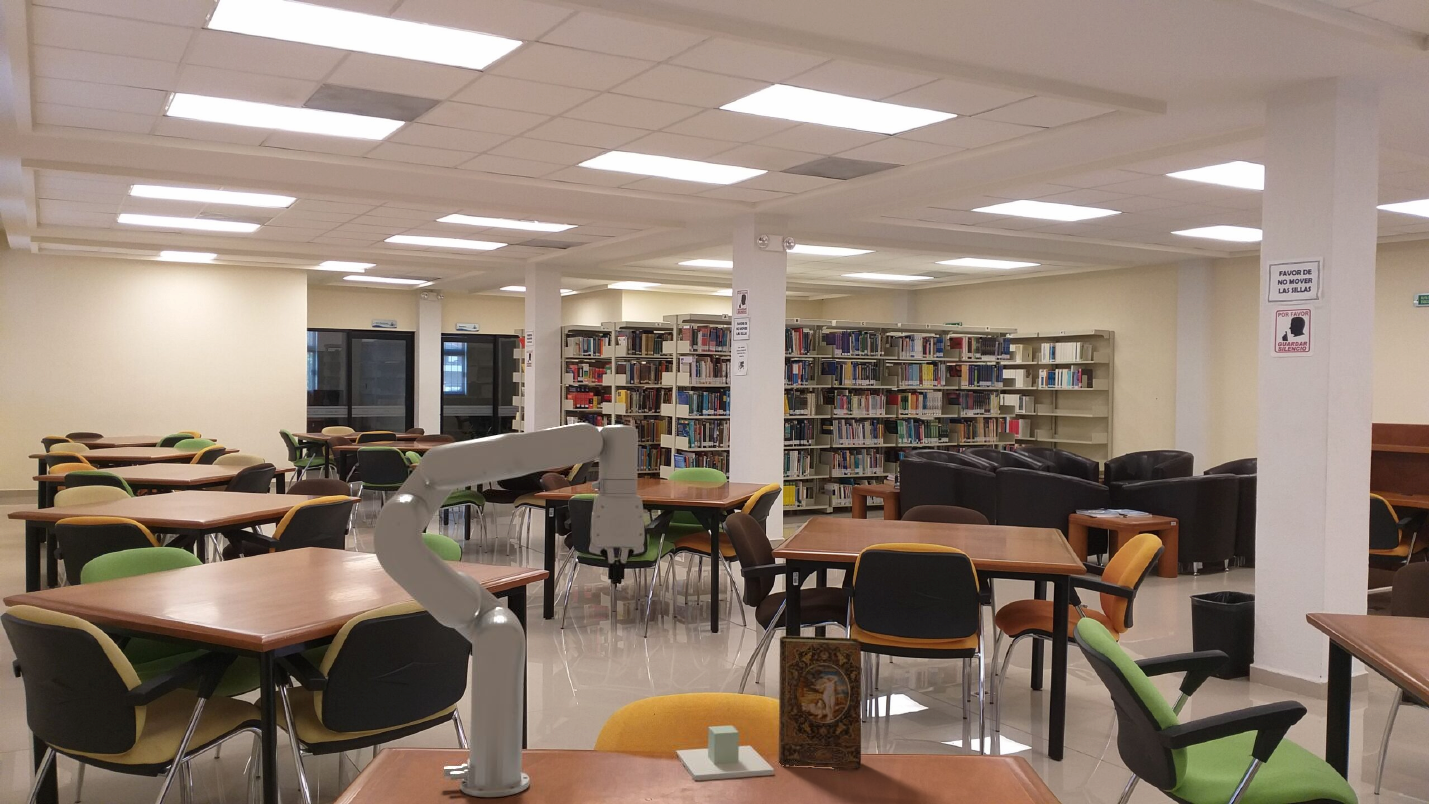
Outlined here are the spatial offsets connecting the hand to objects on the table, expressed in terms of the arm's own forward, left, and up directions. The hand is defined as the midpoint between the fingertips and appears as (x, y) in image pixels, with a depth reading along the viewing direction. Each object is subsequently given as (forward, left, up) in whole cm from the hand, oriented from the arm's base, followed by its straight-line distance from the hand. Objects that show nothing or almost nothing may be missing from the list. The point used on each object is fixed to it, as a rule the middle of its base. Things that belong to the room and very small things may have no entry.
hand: (616, 583), depth 188 cm
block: (+23, +3, -36) cm, 43 cm away
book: (+42, -1, -37) cm, 56 cm away
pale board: (+23, +3, -37) cm, 44 cm away
